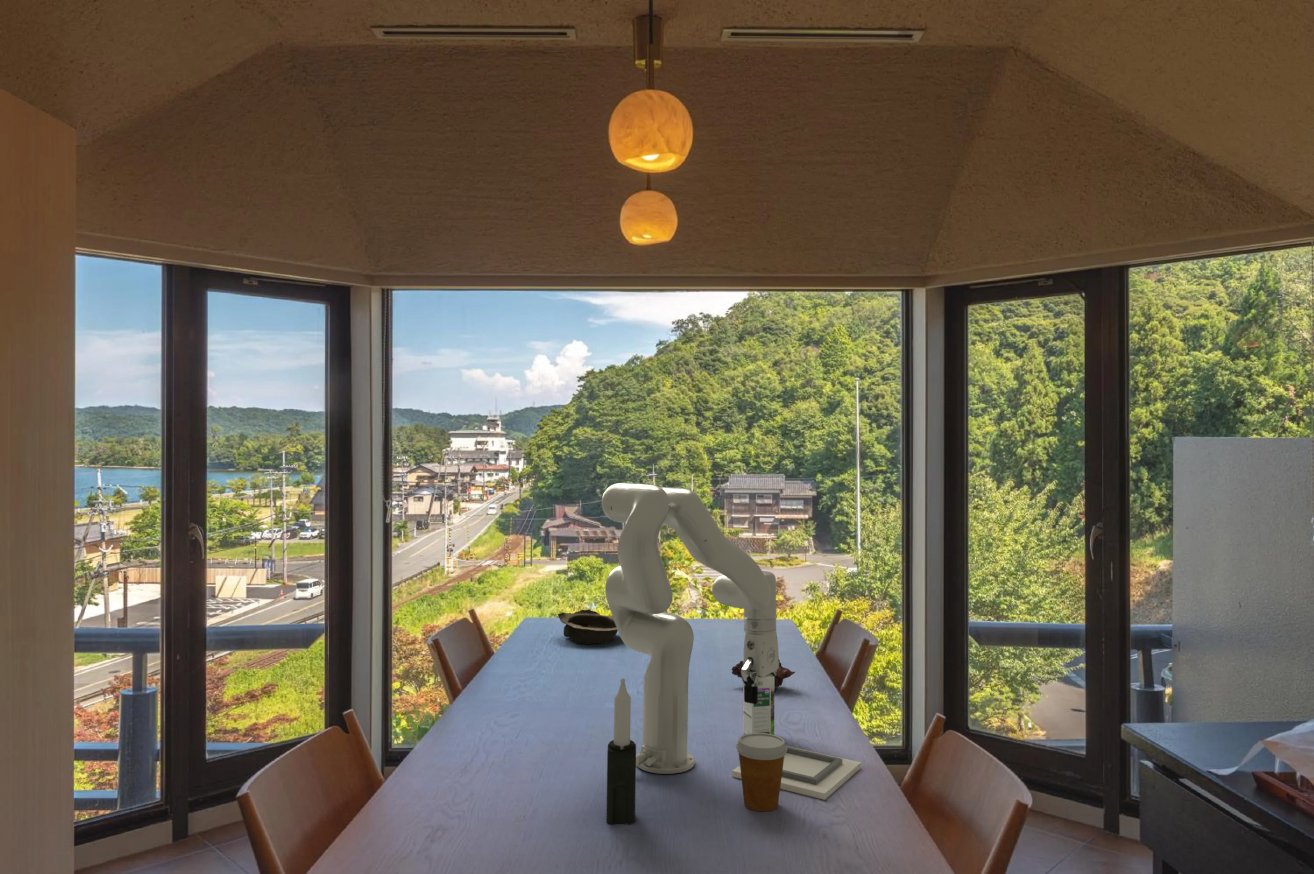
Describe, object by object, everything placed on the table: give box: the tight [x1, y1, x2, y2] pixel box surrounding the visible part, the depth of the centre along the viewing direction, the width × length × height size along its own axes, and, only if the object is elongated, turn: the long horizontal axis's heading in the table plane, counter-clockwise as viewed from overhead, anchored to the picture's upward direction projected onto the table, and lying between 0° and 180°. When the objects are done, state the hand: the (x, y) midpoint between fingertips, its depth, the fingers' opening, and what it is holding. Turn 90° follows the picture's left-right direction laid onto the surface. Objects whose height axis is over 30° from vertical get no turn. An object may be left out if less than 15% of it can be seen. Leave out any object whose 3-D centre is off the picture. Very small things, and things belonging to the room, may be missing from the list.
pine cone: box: [731, 659, 796, 688], centre depth 238 cm, size 18×10×10 cm, turn 83°
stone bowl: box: [557, 609, 618, 645], centre depth 296 cm, size 25×25×9 cm
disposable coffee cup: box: [735, 733, 787, 812], centre depth 158 cm, size 10×10×12 cm
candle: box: [605, 678, 637, 825], centre depth 152 cm, size 5×5×25 cm
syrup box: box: [742, 672, 775, 735], centre depth 197 cm, size 6×6×14 cm
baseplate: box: [731, 745, 862, 801], centre depth 174 cm, size 20×20×2 cm
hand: (760, 697), depth 198 cm, fingers open, 9 cm apart
